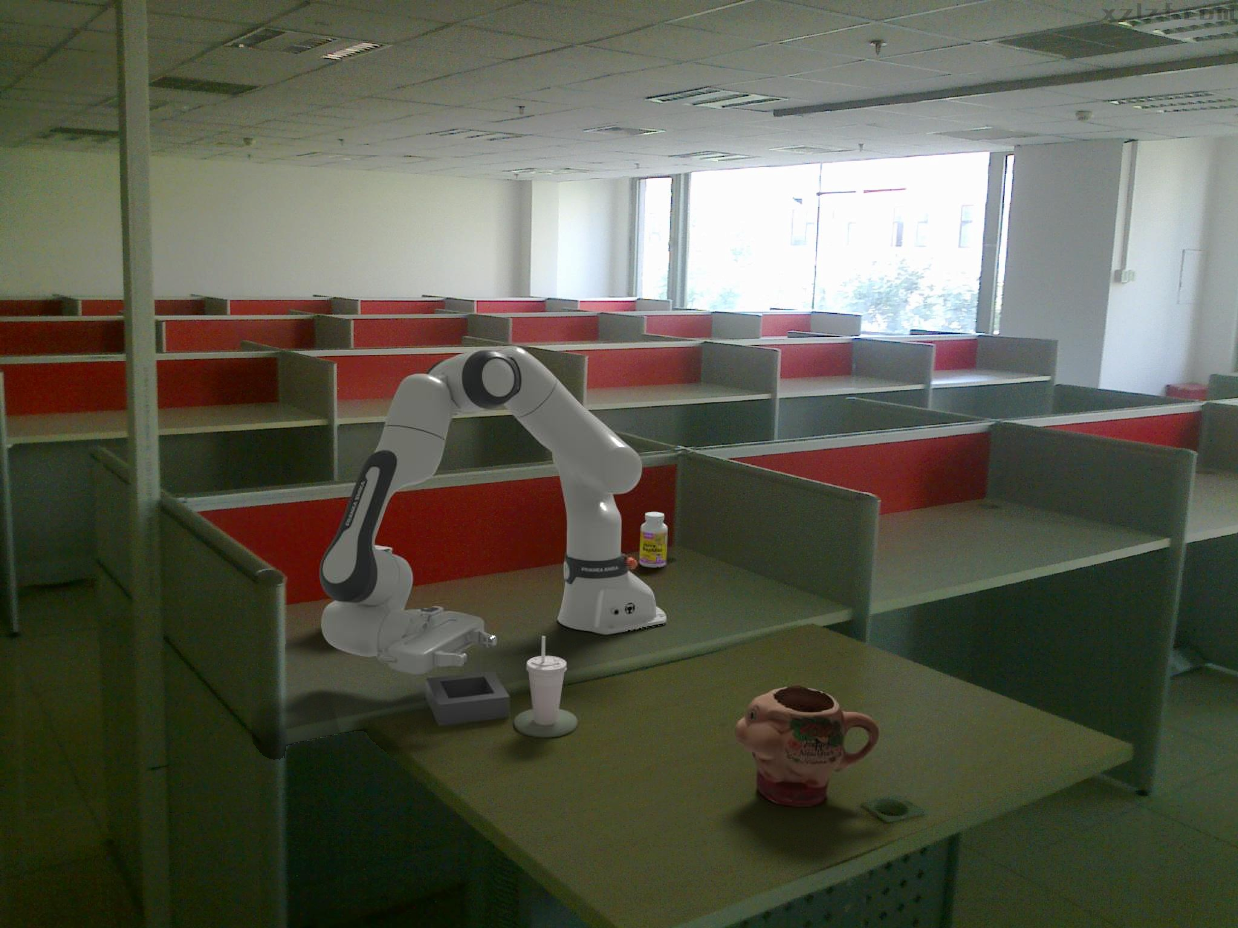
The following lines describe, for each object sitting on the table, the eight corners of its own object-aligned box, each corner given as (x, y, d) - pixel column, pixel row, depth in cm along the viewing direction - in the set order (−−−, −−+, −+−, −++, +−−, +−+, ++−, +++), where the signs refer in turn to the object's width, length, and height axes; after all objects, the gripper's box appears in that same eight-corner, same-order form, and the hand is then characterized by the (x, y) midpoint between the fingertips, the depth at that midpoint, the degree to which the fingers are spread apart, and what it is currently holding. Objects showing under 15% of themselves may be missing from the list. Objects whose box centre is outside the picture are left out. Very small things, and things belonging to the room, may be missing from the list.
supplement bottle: (637, 567, 261) (638, 516, 258) (641, 560, 267) (642, 510, 265) (664, 569, 260) (666, 517, 257) (667, 562, 266) (669, 511, 264)
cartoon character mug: (859, 770, 157) (866, 681, 154) (885, 812, 145) (893, 716, 143) (725, 771, 156) (729, 681, 153) (740, 813, 144) (745, 716, 141)
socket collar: (492, 690, 183) (493, 670, 182) (509, 716, 172) (509, 696, 172) (425, 697, 179) (425, 678, 178) (438, 725, 168) (438, 704, 168)
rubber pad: (566, 707, 176) (566, 704, 176) (585, 732, 167) (585, 729, 167) (507, 715, 173) (507, 711, 173) (523, 740, 164) (523, 737, 164)
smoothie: (525, 711, 173) (526, 629, 170) (565, 711, 173) (566, 629, 171) (525, 728, 167) (526, 643, 164) (566, 728, 167) (568, 643, 165)
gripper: (370, 638, 168) (445, 652, 163) (441, 602, 187) (510, 614, 181) (370, 676, 169) (445, 691, 164) (441, 637, 188) (510, 649, 183)
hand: (480, 650), depth 173 cm, fingers open, 8 cm apart
